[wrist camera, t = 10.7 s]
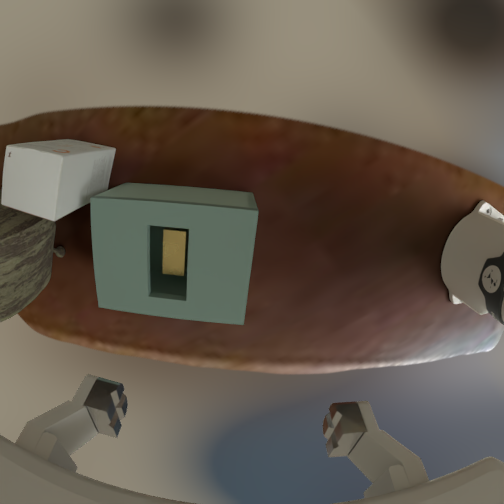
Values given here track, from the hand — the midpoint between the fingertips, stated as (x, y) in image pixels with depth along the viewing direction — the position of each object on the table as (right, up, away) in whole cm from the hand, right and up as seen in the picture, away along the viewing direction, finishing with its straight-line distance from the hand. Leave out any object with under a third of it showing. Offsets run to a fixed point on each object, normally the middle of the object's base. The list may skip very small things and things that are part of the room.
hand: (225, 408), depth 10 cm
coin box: (-8, +8, +27) cm, 29 cm away
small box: (-20, +17, +23) cm, 35 cm away
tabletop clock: (-30, +11, +25) cm, 41 cm away
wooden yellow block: (-7, +8, +26) cm, 28 cm away
